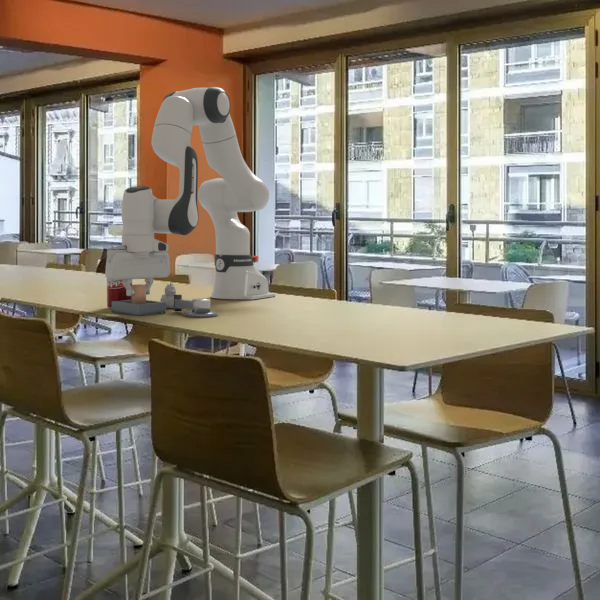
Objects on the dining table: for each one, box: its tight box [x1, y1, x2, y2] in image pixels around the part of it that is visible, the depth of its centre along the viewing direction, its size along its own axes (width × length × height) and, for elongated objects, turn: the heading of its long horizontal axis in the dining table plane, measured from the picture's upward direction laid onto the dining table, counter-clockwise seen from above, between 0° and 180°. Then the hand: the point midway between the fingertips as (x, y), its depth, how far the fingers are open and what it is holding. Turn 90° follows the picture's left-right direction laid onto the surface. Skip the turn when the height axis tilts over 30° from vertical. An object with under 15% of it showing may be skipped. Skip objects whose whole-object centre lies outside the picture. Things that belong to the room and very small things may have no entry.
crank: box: [173, 293, 211, 313], centre depth 247 cm, size 13×5×4 cm, turn 49°
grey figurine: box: [159, 281, 177, 309], centre depth 262 cm, size 5×7×8 cm
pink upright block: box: [131, 283, 147, 304], centre depth 249 cm, size 4×4×6 cm
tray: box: [111, 299, 167, 317], centre depth 250 cm, size 10×12×3 cm
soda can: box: [106, 278, 133, 310], centre depth 259 cm, size 7×7×12 cm
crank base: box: [183, 310, 219, 318], centre depth 245 cm, size 9×9×1 cm
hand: (138, 295), depth 249 cm, fingers closed on pink upright block, 4 cm apart
